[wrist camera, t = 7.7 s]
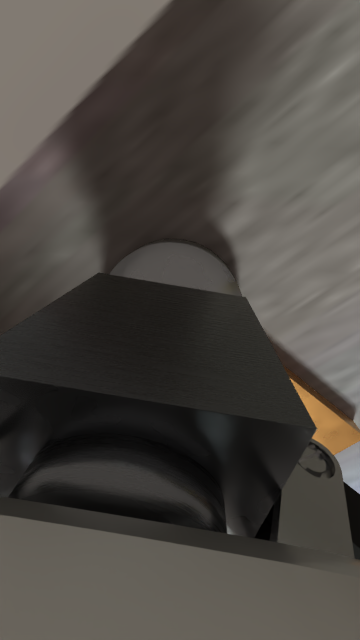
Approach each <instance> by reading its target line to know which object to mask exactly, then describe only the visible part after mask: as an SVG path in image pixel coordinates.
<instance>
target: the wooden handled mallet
mask: <svg viewBox="0 0 360 640" xmlns="http://www.w3.org/2000/svg"><path fill="white" fill-rule="evenodd" d="M110 275H116V276H122V277H128V278H134V279H140V280H146V281H152V282H158V283H164V284H170V285H176V286H182V287H188V288H194V289H200V290H206V291H212V292H218V293H224V294H230V295H236V296H242V294H241V292H240V289H239V286H238V284H237V282H236V281H235V279H234V277H233V275H232V273H231V272H230V270H229V268H228V267H227V266H226V264H225V263H224V262H223V261H222V260H221V259H220V258H219V257H218V256H217V255H216V254H215V253H213V252H212V251H211V250H209V249H207V248H206V247H204V246H202V245H199V244H197V243H194V242H191V241H187V240H181V239H164V240H158V241H154V242H151V243H148V244H146V245H144V246H142V247H140V248H138V249H137V250H135V251H133V252H132V253H130V254H129V255H127V256H126V257H125V258H123V259H122V260H121V261H120V262H119V263H118V264H117V265H116V266H115V267H114V269H113V270H112V271H111V272H110ZM283 367H284V369H285V370H286V372H287V374H288V376H289V378H290V380H291V381H292V383H293V385H294V387H295V389H296V391H297V393H298V394H299V396H300V398H301V400H302V402H303V404H304V405H305V407H306V409H307V411H308V413H309V415H310V416H311V418H312V420H313V422H314V424H315V426H316V428H317V430H316V432H315V434H314V435H313V437H312V439H314V440H316V441H318V442H320V443H321V444H322V445H324V446H325V447H326V448H327V449H328V450H329V451H330V452H331V453H332V454H333V455H335V454H337V453H339V452H341V451H342V450H344V449H346V448H348V447H349V446H351V445H353V444H355V443H357V442H358V441H360V429H359V428H358V427H357V425H356V424H355V423H354V421H353V420H351V419H350V418H349V417H348V416H346V415H345V414H344V413H343V412H341V411H340V410H339V409H338V408H336V407H335V406H334V405H333V404H331V403H330V402H329V401H328V400H326V399H325V398H324V397H323V396H321V395H320V394H319V393H318V392H316V391H315V390H314V389H313V388H311V387H310V386H309V385H308V384H306V383H305V382H304V381H303V380H301V379H300V378H299V377H298V376H296V375H295V374H294V373H292V372H291V371H290V370H289V369H287V368H286V367H285V366H284V365H283Z"/></svg>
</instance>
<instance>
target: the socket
mask: <svg viewBox="0 0 360 640" xmlns="http://www.w3.org/2000/svg"><path fill="white" fill-rule="evenodd" d="M316 430H317V428H316V426H315V424H314V422H313V420H312V418H311V416H310V415H309V413H308V411H307V409H306V407H305V405H304V404H303V402H302V400H301V398H300V396H299V394H298V393H297V391H296V389H295V387H294V385H293V383H292V381H291V380H290V378H289V376H288V374H287V372H286V370H285V369H284V367H283V365H282V363H281V361H280V359H279V358H278V356H277V354H276V352H275V350H274V348H273V346H272V345H271V343H270V341H269V339H268V337H267V335H266V334H265V332H264V330H263V328H262V326H261V324H260V322H259V321H258V319H257V317H256V315H255V313H254V311H253V310H252V308H251V306H250V304H249V302H248V300H247V299H246V297H242V296H236V295H230V294H224V293H218V292H212V291H206V290H200V289H194V288H188V287H182V286H176V285H170V284H164V283H158V282H152V281H146V280H140V279H134V278H128V277H122V276H116V275H110V274H104V273H97V274H96V275H94V276H93V277H91V278H90V279H88V280H86V281H85V282H83V283H82V284H80V285H79V286H77V287H75V288H74V289H72V290H71V291H69V292H68V293H66V294H65V295H63V296H61V297H60V298H58V299H57V300H55V301H54V302H52V303H50V304H49V305H47V306H46V307H44V308H43V309H41V310H40V311H38V312H36V313H35V314H33V315H32V316H30V317H29V318H27V319H25V320H24V321H22V322H21V323H19V324H18V325H16V326H15V327H13V328H11V329H10V330H8V331H7V332H5V333H4V334H2V335H0V496H1V497H8V498H14V499H20V500H27V501H33V502H39V503H46V504H52V505H58V506H64V507H70V508H76V509H82V510H88V511H95V512H101V513H107V514H113V515H119V516H125V517H131V518H137V519H143V520H149V521H155V522H161V523H167V524H173V525H179V526H185V527H191V528H197V529H203V530H209V531H214V532H220V533H226V534H232V535H238V536H244V537H250V538H254V537H255V535H256V533H257V532H258V530H259V528H260V527H261V525H262V523H263V521H264V520H265V518H266V516H267V515H268V513H269V511H270V509H271V508H272V506H273V504H274V502H275V501H276V499H277V497H278V496H279V494H280V492H281V490H282V489H283V487H284V485H285V483H286V482H287V480H288V478H289V477H290V475H291V473H292V471H293V470H294V468H295V466H296V465H297V463H298V461H299V459H300V458H301V456H302V454H303V452H304V451H305V449H306V447H307V446H308V444H309V442H310V440H311V439H312V437H313V435H314V434H315V432H316Z"/></svg>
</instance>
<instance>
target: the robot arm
mask: <svg viewBox="0 0 360 640" xmlns="http://www.w3.org/2000/svg"><path fill="white" fill-rule="evenodd" d="M0 640H360V494H359V493H357V492H356V491H355V490H353V489H352V488H351V487H350V486H348V485H347V484H346V483H344V482H343V477H342V471H341V468H340V465H339V463H338V461H337V459H336V458H335V456H334V455H333V454H332V453H331V452H330V451H329V450H328V449H327V448H326V447H325V446H324V445H322V444H321V443H320V442H318V441H316V440H314V439H311V440H310V442H309V444H308V446H307V447H306V449H305V451H304V452H303V454H302V456H301V458H300V459H299V461H298V463H297V465H296V466H295V468H294V470H293V471H292V473H291V475H290V477H289V478H288V480H287V482H286V483H285V485H284V487H283V489H282V490H281V492H280V494H279V496H278V497H277V499H276V501H275V502H274V504H273V506H272V508H271V509H270V511H269V513H268V515H267V516H266V518H265V520H264V521H263V523H262V525H261V527H260V528H259V530H258V532H257V533H256V535H255V537H254V538H250V537H244V536H238V535H232V534H226V533H220V532H214V531H209V530H203V529H197V528H191V527H185V526H179V525H173V524H167V523H161V522H155V521H149V520H143V519H137V518H131V517H125V516H119V515H113V514H107V513H101V512H95V511H88V510H82V509H76V508H70V507H64V506H58V505H52V504H46V503H39V502H33V501H27V500H20V499H14V498H8V497H1V496H0Z"/></svg>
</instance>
